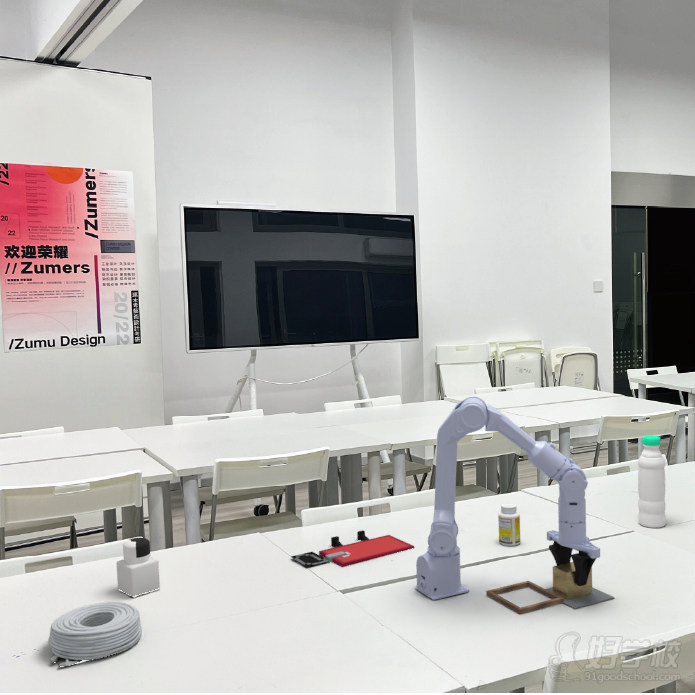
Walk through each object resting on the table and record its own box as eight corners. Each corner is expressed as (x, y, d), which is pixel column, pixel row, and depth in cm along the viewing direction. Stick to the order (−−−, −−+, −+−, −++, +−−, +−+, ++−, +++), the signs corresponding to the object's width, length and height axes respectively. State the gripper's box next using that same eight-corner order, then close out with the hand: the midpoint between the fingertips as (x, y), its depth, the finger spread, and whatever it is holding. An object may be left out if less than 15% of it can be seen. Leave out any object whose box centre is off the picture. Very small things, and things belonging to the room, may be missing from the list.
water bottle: (667, 522, 214) (667, 434, 212) (663, 529, 208) (662, 439, 206) (641, 519, 218) (640, 433, 216) (635, 526, 212) (635, 437, 210)
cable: (50, 673, 140) (48, 641, 139) (47, 635, 156) (46, 607, 155) (148, 653, 146) (146, 622, 146) (135, 619, 162) (134, 591, 162)
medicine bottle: (144, 582, 183) (142, 533, 182) (160, 589, 178) (157, 539, 177) (117, 591, 178) (114, 540, 177) (132, 599, 173) (129, 547, 172)
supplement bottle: (516, 539, 205) (515, 501, 204) (523, 545, 199) (522, 507, 198) (496, 540, 204) (495, 503, 203) (502, 547, 198) (501, 508, 198)
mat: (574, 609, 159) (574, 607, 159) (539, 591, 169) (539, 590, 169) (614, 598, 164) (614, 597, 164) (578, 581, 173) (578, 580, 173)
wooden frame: (520, 614, 157) (519, 609, 157) (486, 595, 168) (486, 590, 168) (563, 602, 162) (563, 598, 162) (528, 584, 173) (528, 580, 173)
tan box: (567, 600, 163) (566, 572, 162) (553, 593, 167) (552, 566, 166) (592, 593, 166) (591, 566, 165) (577, 586, 170) (577, 560, 169)
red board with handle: (286, 558, 197) (316, 576, 184) (286, 547, 196) (316, 564, 184) (381, 536, 213) (414, 551, 200) (380, 526, 213) (414, 540, 200)
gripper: (610, 525, 160) (611, 588, 161) (563, 508, 173) (564, 567, 174) (585, 530, 157) (586, 594, 158) (538, 513, 170) (539, 572, 171)
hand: (573, 580), depth 166 cm, fingers open, 5 cm apart
